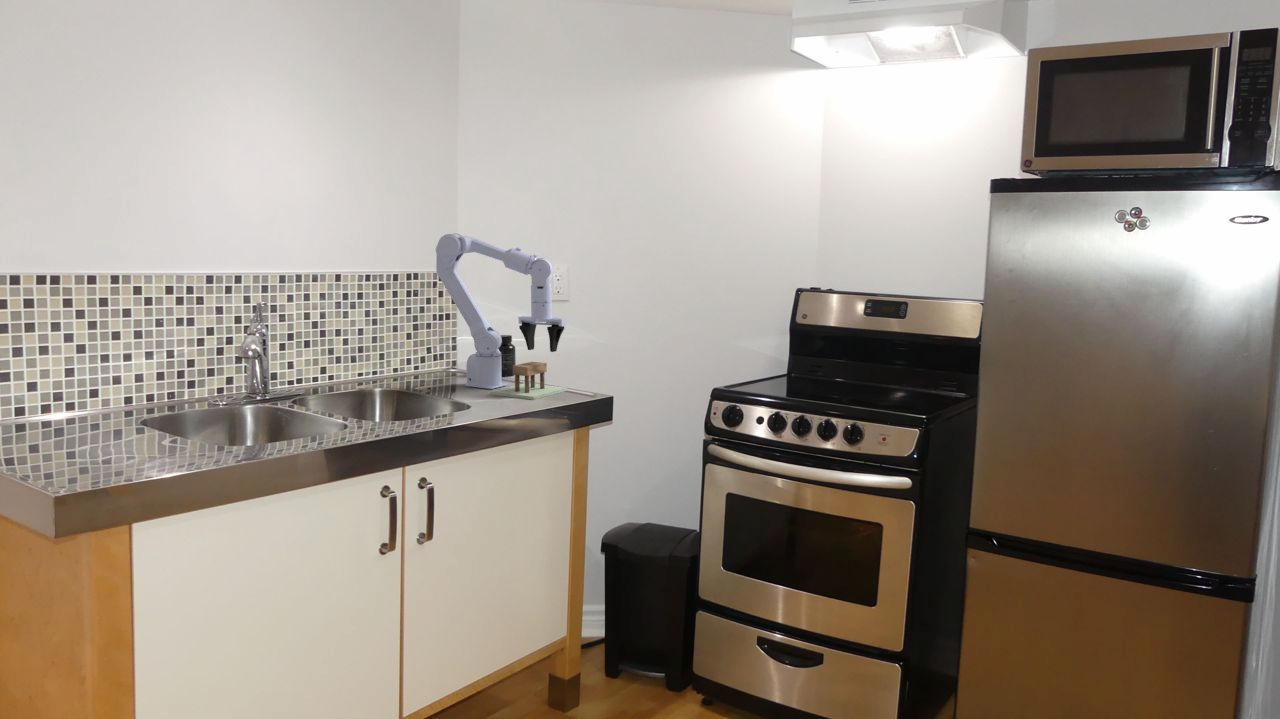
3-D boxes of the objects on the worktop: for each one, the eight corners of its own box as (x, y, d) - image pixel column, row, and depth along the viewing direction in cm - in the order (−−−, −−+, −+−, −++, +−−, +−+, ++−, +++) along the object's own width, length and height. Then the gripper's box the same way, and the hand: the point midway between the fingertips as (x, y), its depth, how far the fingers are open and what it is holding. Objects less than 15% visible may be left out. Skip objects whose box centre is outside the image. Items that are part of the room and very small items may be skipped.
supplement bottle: (517, 373, 294) (517, 334, 293) (512, 377, 288) (512, 337, 286) (495, 372, 295) (495, 333, 293) (490, 376, 288) (489, 336, 287)
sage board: (490, 394, 260) (490, 391, 260) (525, 385, 274) (525, 382, 274) (533, 399, 253) (533, 396, 253) (566, 390, 267) (566, 387, 267)
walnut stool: (532, 386, 268) (532, 361, 267) (546, 388, 266) (546, 363, 265) (512, 391, 260) (512, 365, 259) (527, 393, 258) (527, 367, 257)
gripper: (511, 302, 268) (512, 350, 270) (555, 304, 261) (555, 354, 263) (526, 300, 274) (527, 347, 276) (569, 302, 268) (569, 350, 270)
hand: (542, 350), depth 270 cm, fingers open, 7 cm apart
